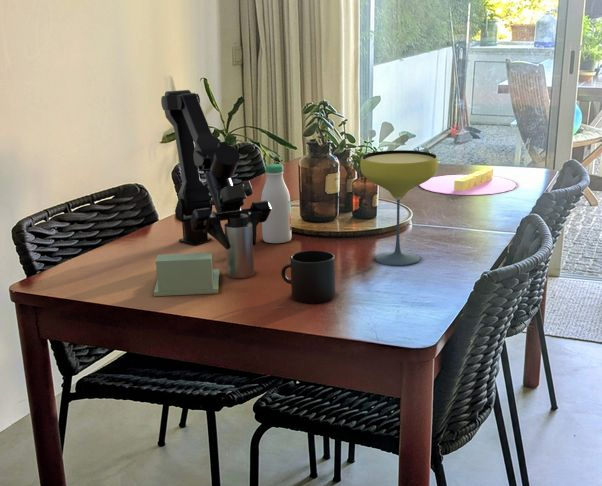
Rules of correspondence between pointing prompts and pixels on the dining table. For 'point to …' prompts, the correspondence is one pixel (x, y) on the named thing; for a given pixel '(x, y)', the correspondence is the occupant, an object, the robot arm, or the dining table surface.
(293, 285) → the mug
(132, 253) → the dining table surface
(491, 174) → the platter
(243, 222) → the steel travel tumbler
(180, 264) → the pale green butter dish
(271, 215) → the milk bottle
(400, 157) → the cocktail glass
